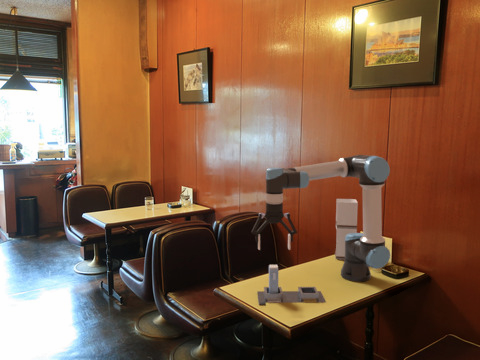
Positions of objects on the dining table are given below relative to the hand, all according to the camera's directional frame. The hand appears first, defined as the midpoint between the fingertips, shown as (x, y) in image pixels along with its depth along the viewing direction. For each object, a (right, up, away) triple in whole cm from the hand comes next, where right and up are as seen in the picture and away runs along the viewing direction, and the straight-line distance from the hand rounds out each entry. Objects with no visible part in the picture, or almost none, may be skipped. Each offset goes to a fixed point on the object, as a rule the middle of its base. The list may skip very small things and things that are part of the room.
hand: (274, 248), depth 174 cm
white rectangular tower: (+48, -16, +61) cm, 79 cm away
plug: (0, -22, +3) cm, 23 cm away
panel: (+8, -23, +3) cm, 25 cm away
